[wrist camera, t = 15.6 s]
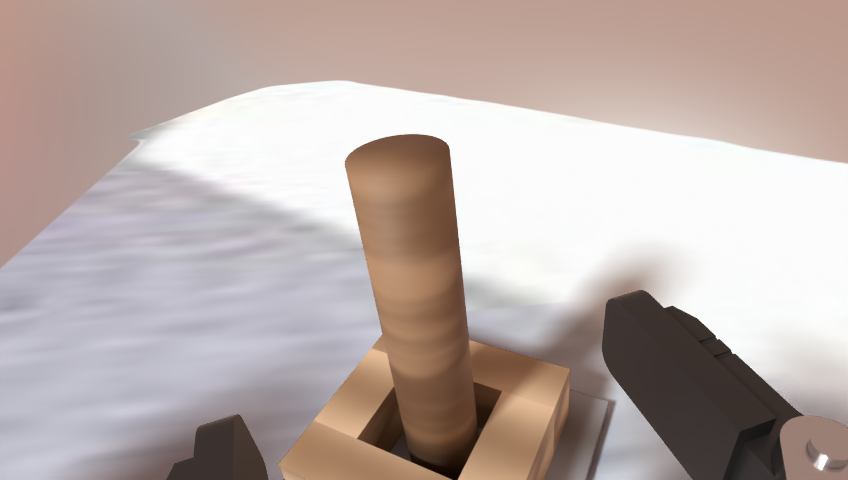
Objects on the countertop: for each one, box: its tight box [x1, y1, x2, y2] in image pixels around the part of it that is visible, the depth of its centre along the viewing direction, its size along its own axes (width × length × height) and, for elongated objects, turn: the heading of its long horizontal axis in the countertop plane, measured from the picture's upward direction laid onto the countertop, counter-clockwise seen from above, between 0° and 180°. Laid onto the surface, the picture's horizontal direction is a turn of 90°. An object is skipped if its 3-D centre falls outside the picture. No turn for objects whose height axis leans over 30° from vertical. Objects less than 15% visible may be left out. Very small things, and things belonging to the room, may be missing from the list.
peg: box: [345, 134, 479, 480], centre depth 25 cm, size 4×4×20 cm
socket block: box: [278, 334, 608, 480], centre depth 30 cm, size 16×16×5 cm
